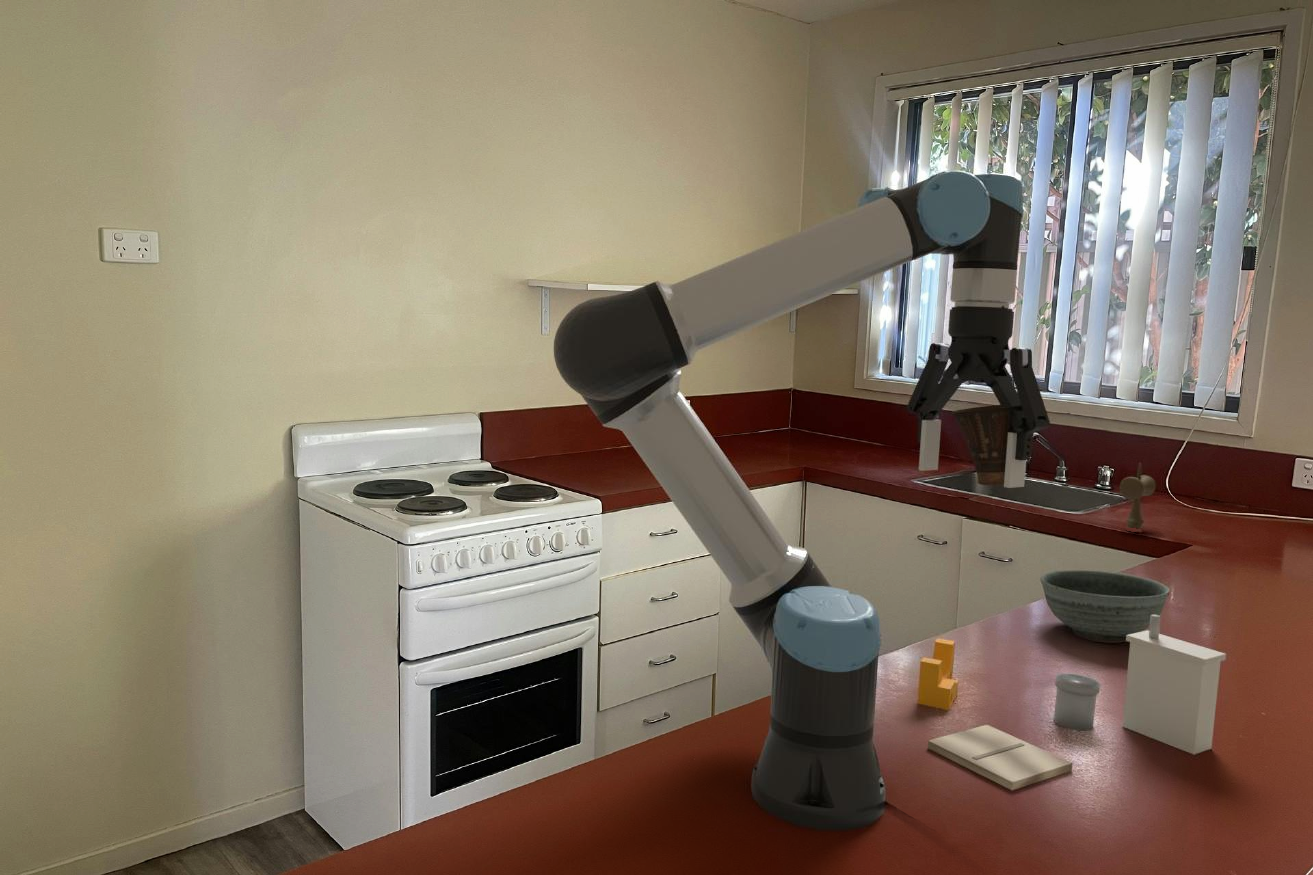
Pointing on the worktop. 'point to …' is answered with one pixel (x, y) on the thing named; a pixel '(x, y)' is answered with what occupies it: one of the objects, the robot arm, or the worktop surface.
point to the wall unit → (1171, 689)
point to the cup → (987, 439)
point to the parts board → (1000, 756)
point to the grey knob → (1075, 701)
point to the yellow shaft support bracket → (938, 677)
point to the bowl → (1103, 602)
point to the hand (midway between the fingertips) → (969, 478)
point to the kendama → (1136, 495)
